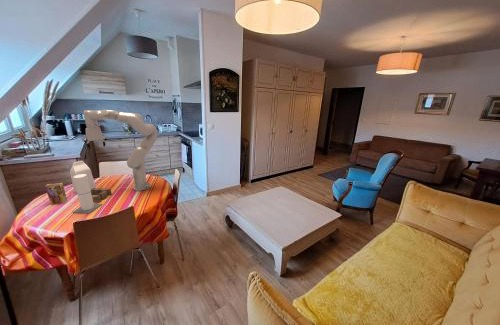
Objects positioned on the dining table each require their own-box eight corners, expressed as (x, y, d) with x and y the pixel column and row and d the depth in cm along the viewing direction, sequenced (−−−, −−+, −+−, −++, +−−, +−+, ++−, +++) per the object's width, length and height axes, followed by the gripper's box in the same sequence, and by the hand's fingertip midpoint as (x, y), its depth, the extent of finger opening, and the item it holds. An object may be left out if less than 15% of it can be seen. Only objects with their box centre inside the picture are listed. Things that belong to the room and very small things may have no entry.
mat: (102, 204, 150) (101, 203, 149) (89, 213, 138) (89, 212, 138) (86, 204, 150) (86, 203, 150) (72, 213, 138) (72, 212, 138)
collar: (111, 194, 166) (110, 188, 165) (98, 202, 152) (97, 197, 151) (94, 193, 166) (93, 188, 165) (80, 202, 153) (78, 196, 151)
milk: (80, 194, 164) (72, 164, 156) (74, 190, 170) (66, 162, 162) (96, 189, 174) (90, 161, 166) (90, 185, 180) (83, 158, 172)
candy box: (68, 200, 154) (62, 182, 150) (65, 203, 151) (59, 184, 146) (53, 201, 152) (48, 183, 147) (50, 204, 148) (44, 186, 143)
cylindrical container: (82, 211, 139) (73, 178, 131) (81, 207, 144) (72, 175, 136) (94, 207, 144) (87, 176, 136) (93, 204, 149) (85, 173, 141)
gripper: (104, 125, 165) (108, 145, 170) (77, 126, 153) (83, 147, 159) (106, 126, 160) (110, 146, 165) (78, 127, 148) (84, 149, 153)
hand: (97, 147), depth 162 cm, fingers open, 9 cm apart
